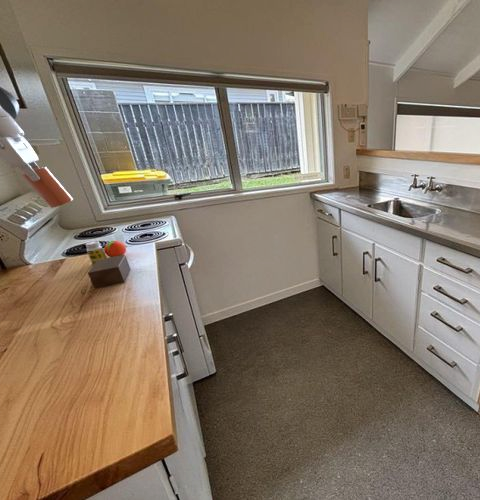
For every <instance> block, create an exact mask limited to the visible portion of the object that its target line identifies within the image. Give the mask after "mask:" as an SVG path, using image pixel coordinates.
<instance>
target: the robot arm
mask: <svg viewBox="0 0 480 500" xmlns="http://www.w3.org/2000/svg"><path fill="white" fill-rule="evenodd" d="M19 112H20V104H19V102H18V100H17V98H16V97H15V96H14V95H13V94H12V93H11V92H9V91H8V90H7V89H5V88H3V87H1V86H0V158H1V159H2V161H3V162H4V163H5V164H6V165H7V166H8V167H9V168H10V169H15V168H18V169H19V170H20V171H21V172H22V173H25V174H26V175H27V176H28V177H29V178H30V179H31V180H32V181H37V180H40V177H39V176H38V174H37V173H35V172H34V170H35V169H38V168H40V166H39V165H38V163H36V162H37V161H38V162H39V160H40V159H39V156H38V155H37V153H36V152H35V150H34V149H33V147H32V146H31V144H30V143H29V141H28V140H27V139H26V138H25V137H24V136H25V132H24V130H23V129H22V128H21V127H20V125H19V124H18V123H17V121H16V119H17V118H18V115H19Z"/></svg>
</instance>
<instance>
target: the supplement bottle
mask: <svg viewBox="0 0 480 500" xmlns="http://www.w3.org/2000/svg"><path fill="white" fill-rule="evenodd" d="M85 247H86V253H87V255H88V258H89V260H90V263H91V264H92V265H93V264H95V262H96V261H97V260H98V259H104V258H107V254H106V253H105V251H104V248H103V246H102V245H101V243H100V242H99V240H95V241H89V242H86V243H85Z"/></svg>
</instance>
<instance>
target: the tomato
mask: <svg viewBox="0 0 480 500" xmlns="http://www.w3.org/2000/svg"><path fill="white" fill-rule="evenodd" d="M103 250H104V253H105V255H106V256H107V257H108V258H109V257H115V256H120V255H126V252H127V247H126V245H125V244H124V243H123V242H122V241H119V240H111V241H109V242H107V243H106V244H105V245H104V248H103Z"/></svg>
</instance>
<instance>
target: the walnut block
mask: <svg viewBox="0 0 480 500" xmlns="http://www.w3.org/2000/svg"><path fill="white" fill-rule="evenodd" d="M130 272H131V266H130V264H129V261H128V258H127V256H126V254H124V255H120V256H115V257H109V256H108V257H106V258H104V259H98V260H97V261H96V262H95V264H94V265H93V264H92V266H91V267H90V269H89V270H88V271H87V275H88V277H89V280H90V282H91V284H92V286H93V288H94V290H98V289H102V288H107V287H111V286H117V285H121V284H125V283H126V280H127V279H128V276H129V274H130Z"/></svg>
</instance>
